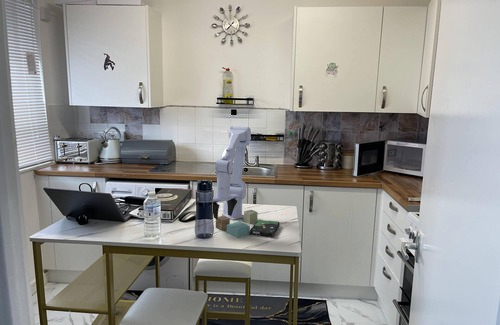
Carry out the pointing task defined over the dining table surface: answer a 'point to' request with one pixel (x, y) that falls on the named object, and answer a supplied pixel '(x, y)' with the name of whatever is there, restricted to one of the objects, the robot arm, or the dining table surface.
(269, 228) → the disk drive
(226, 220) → the walnut block
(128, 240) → the dining table surface
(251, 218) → the olive block
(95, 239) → the dining table surface
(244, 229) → the teal block
